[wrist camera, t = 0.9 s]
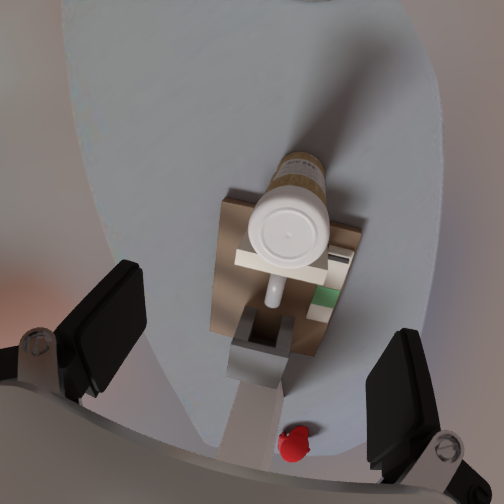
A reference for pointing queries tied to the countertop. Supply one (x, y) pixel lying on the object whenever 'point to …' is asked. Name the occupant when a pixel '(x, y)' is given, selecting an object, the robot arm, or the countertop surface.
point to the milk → (252, 427)
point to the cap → (294, 444)
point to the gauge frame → (263, 317)
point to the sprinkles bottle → (292, 214)
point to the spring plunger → (283, 270)
